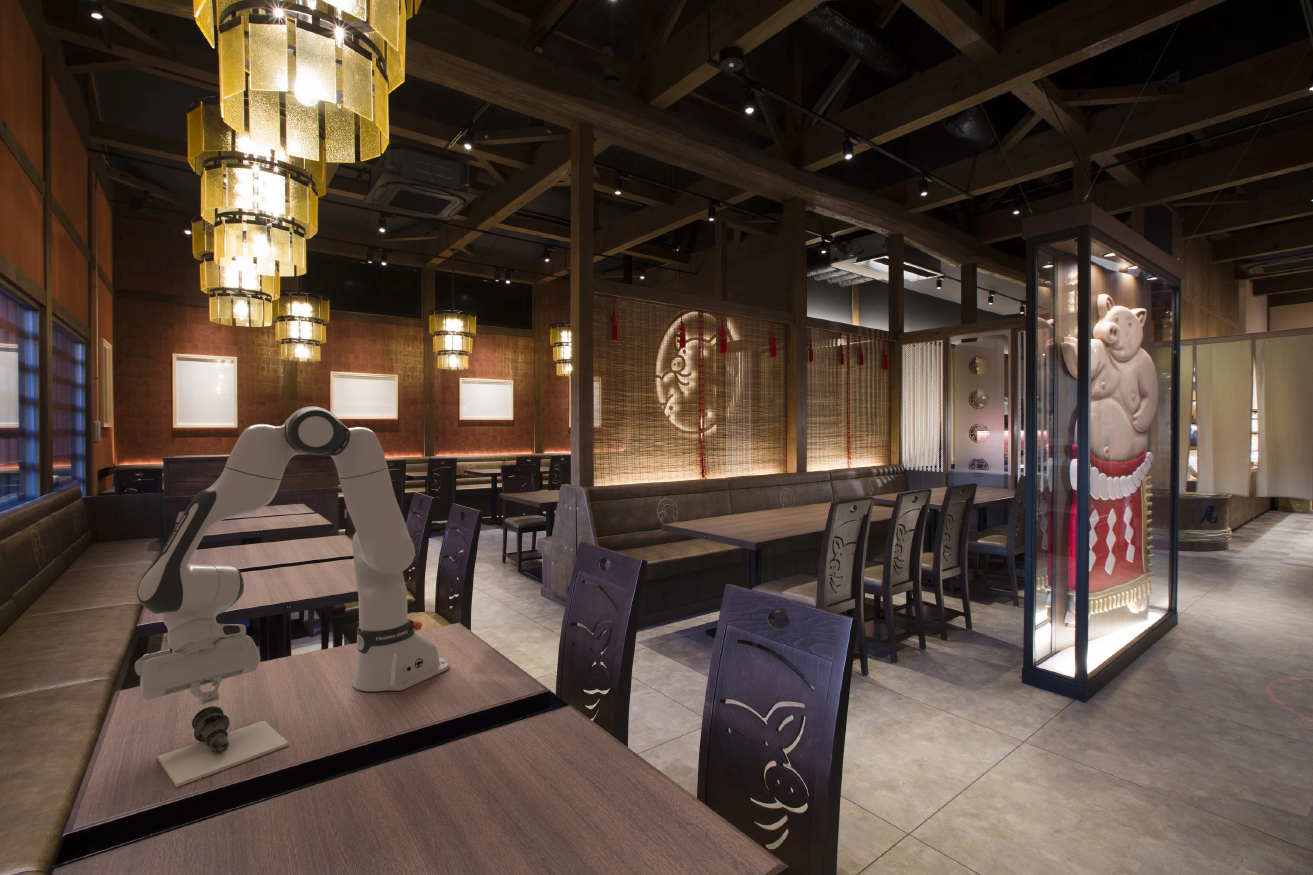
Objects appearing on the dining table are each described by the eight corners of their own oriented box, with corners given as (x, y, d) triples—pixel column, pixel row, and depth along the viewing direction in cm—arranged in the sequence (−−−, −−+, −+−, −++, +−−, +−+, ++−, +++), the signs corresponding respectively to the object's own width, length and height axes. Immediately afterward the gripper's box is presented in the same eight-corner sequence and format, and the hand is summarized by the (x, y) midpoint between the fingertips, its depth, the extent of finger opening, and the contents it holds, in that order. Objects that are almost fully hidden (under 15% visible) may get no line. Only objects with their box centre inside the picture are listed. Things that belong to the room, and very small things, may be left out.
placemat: (264, 722, 130) (264, 720, 130) (288, 745, 121) (288, 742, 121) (157, 758, 117) (157, 755, 117) (176, 787, 108) (176, 783, 108)
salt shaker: (206, 737, 124) (220, 771, 116) (182, 725, 121) (196, 759, 113) (232, 712, 127) (248, 743, 119) (209, 699, 123) (224, 731, 115)
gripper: (135, 649, 121) (147, 712, 115) (253, 623, 137) (269, 677, 131) (130, 665, 124) (142, 728, 118) (246, 638, 140) (262, 692, 134)
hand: (210, 701), depth 125 cm, fingers closed
